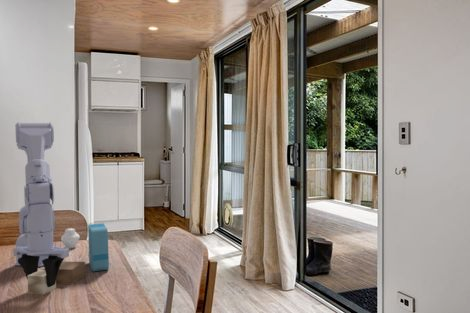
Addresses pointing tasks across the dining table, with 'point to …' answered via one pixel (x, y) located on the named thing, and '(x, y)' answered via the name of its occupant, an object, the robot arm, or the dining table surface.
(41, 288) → the birch cube
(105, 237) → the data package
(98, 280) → the dining table surface
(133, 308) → the dining table surface
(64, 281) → the walnut base block
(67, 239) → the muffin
